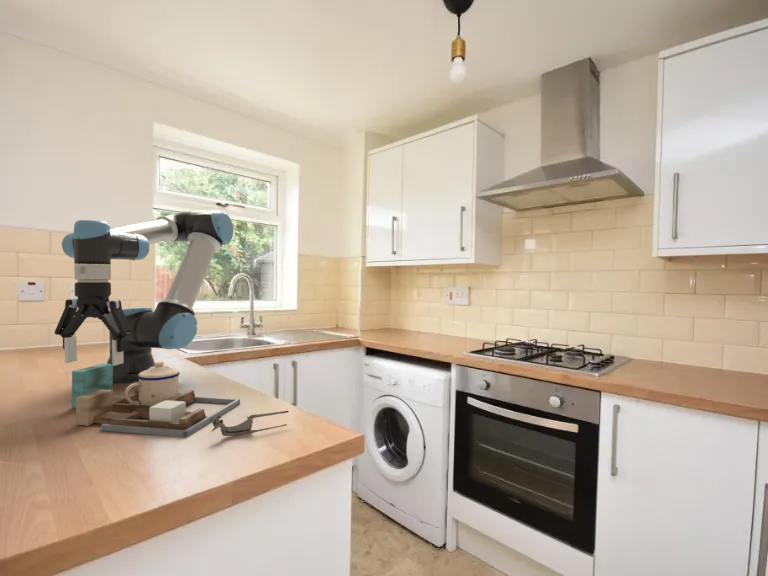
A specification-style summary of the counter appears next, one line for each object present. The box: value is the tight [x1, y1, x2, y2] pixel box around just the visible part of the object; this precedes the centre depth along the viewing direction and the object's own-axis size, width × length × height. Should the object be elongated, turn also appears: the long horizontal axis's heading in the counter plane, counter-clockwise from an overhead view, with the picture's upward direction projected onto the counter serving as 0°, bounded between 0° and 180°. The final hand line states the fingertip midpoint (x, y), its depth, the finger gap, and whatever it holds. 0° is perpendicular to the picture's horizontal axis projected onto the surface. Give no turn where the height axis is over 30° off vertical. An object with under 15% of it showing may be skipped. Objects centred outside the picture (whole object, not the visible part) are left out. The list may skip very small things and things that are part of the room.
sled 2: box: [75, 389, 206, 430], centre depth 87 cm, size 8×26×6 cm, turn 83°
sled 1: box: [71, 363, 196, 413], centre depth 99 cm, size 12×26×9 cm, turn 83°
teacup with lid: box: [124, 361, 180, 406], centre depth 96 cm, size 12×9×12 cm
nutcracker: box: [211, 410, 290, 437], centre depth 83 cm, size 16×1×5 cm, turn 123°
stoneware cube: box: [148, 400, 187, 423], centre depth 86 cm, size 5×5×5 cm
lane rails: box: [100, 395, 241, 438], centre depth 92 cm, size 22×20×1 cm
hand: (94, 363), depth 101 cm, fingers open, 13 cm apart
